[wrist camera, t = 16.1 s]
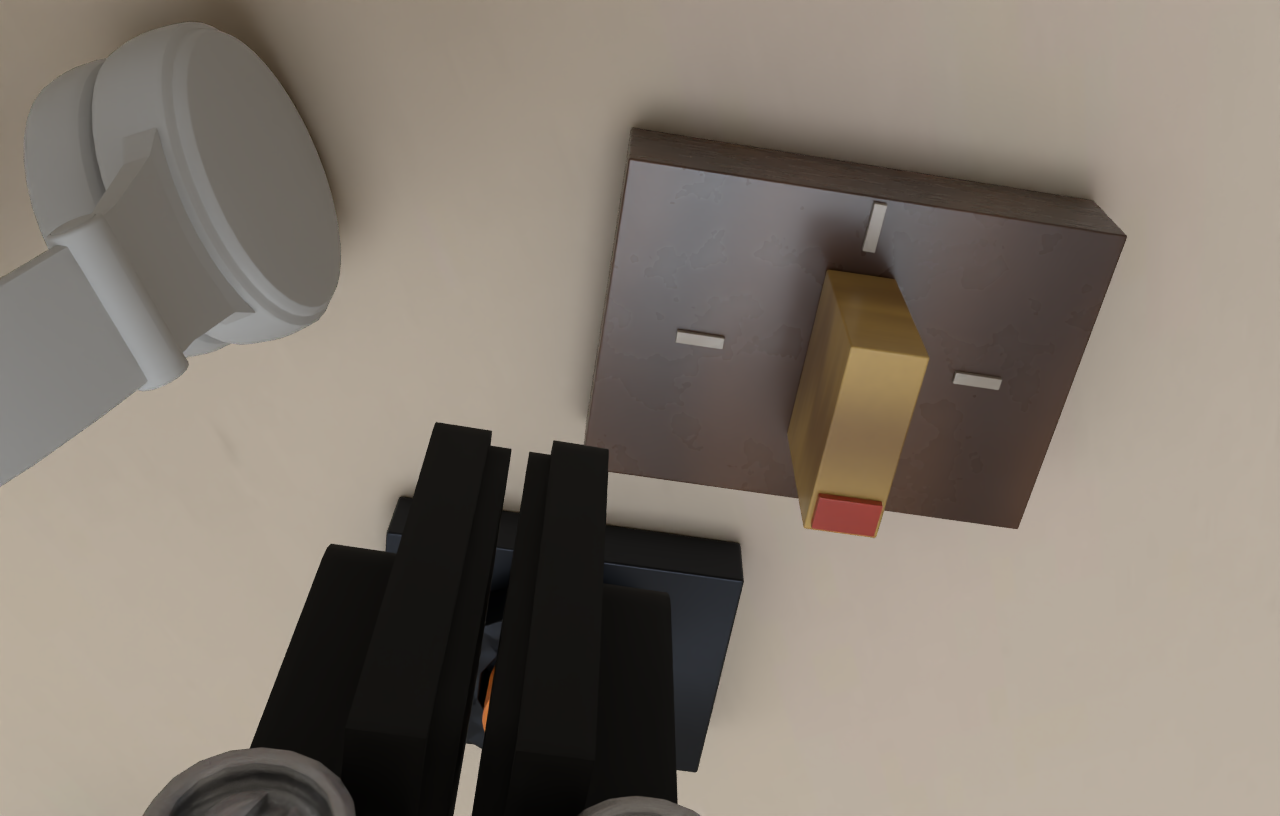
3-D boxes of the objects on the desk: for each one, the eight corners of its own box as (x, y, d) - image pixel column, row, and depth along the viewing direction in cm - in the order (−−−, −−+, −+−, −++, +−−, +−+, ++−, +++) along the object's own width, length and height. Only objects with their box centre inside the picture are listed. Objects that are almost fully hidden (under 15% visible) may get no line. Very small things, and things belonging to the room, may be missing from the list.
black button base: (385, 691, 46) (362, 769, 42) (399, 495, 41) (374, 564, 38) (695, 731, 46) (698, 811, 43) (740, 542, 42) (747, 615, 38)
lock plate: (586, 420, 40) (580, 471, 37) (631, 127, 35) (628, 159, 32) (995, 479, 41) (1019, 532, 38) (1094, 200, 36) (1130, 238, 33)
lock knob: (827, 268, 34) (852, 350, 29) (896, 278, 34) (932, 361, 29) (786, 434, 36) (804, 534, 32) (850, 443, 36) (877, 544, 32)
